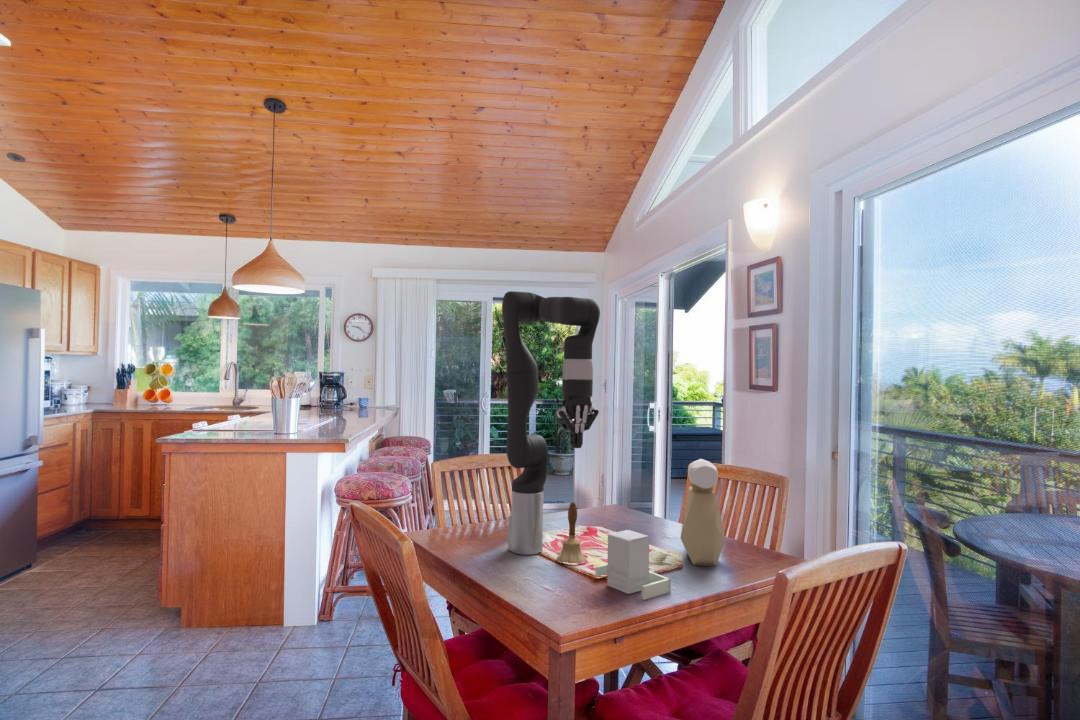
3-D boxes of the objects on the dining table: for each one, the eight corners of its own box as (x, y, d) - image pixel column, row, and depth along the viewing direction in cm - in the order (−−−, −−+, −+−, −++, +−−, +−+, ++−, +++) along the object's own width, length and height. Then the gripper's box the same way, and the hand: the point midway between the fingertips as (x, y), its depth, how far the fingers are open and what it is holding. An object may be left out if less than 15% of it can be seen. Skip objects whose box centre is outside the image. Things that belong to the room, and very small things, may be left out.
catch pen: (644, 600, 133) (644, 586, 133) (595, 578, 146) (595, 566, 146) (670, 591, 138) (670, 579, 138) (621, 571, 151) (621, 560, 152)
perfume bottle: (685, 572, 152) (687, 465, 152) (675, 545, 176) (676, 452, 176) (733, 575, 150) (734, 466, 151) (716, 548, 174) (717, 454, 175)
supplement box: (649, 588, 140) (650, 535, 140) (627, 595, 136) (628, 540, 136) (627, 579, 146) (628, 528, 146) (606, 585, 142) (606, 533, 142)
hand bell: (591, 559, 161) (592, 501, 161) (576, 567, 154) (577, 507, 154) (565, 554, 166) (567, 497, 166) (550, 561, 159) (551, 502, 159)
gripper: (587, 377, 151) (586, 444, 151) (547, 377, 143) (545, 447, 143) (607, 378, 145) (606, 448, 145) (566, 377, 137) (565, 451, 137)
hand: (576, 447), depth 144 cm, fingers closed
